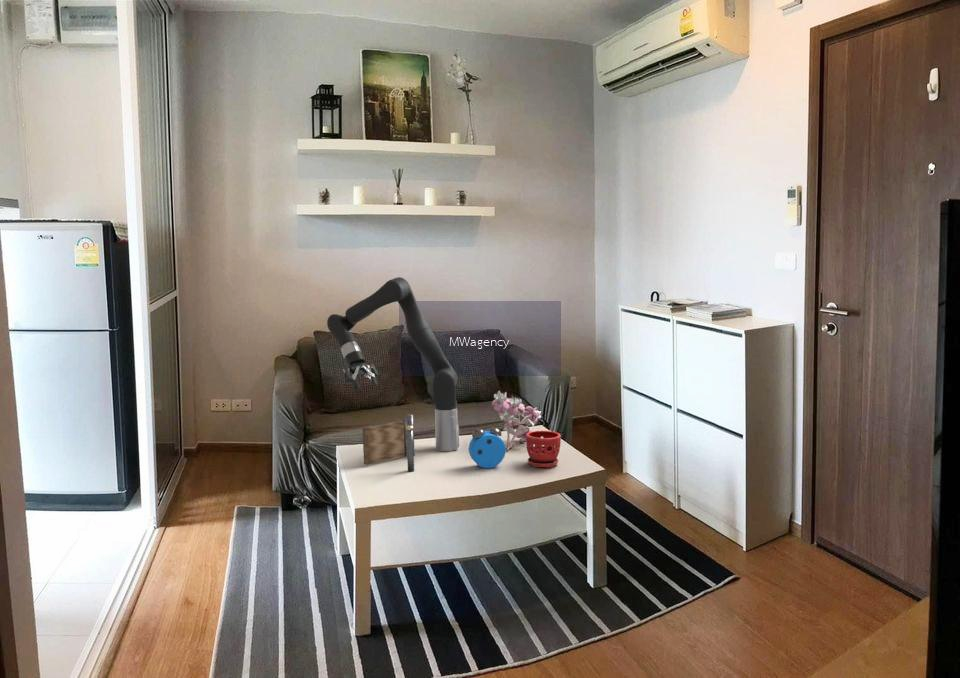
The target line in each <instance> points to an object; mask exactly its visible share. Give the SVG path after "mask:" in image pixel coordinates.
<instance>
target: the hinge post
mask: <svg viewBox="0 0 960 678" xmlns="http://www.w3.org/2000/svg"><path fill="white" fill-rule="evenodd" d="M408 425H412V426H413V448H414V449H415V428H414V427H415V426H414V425H415V424H414V414H412V413H411V414H410V413H409V414H407V415H406V426H408ZM414 456H416V455H415V452H414Z"/></svg>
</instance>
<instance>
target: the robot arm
mask: <svg viewBox="0 0 960 678" xmlns="http://www.w3.org/2000/svg"><path fill="white" fill-rule="evenodd" d="M415 297H416V296H415V294H414V292H413V289H412V287H411V285H410V283H409V281H407V280H406V279H405V278H404V277H400V276H399V277H394V278H391V279H389V280H387V281H386V282H385V283H384V284H383V285H382V286H380V288H379V289H377V290H376V291H375V292H374V293H372V294H370V295H369V296H368V297H366V298H363V300H360V301H359V302H357V303H354V304H353V305H352V306H350V307H349V308H347V309H346V310H345V313H344V314H345V315H340V314H336V313H333V314H330V315H329V316H328V318H327V320H326V321H327V322H326V325H327V328H328V331H329V332H330V333H331V335H332V336H333V338H334V339H335V340H336V341H337V343H338V346H339V348H340V351H341V354H342V357H343V359H344V361H345V364H346V366H344V368H343V369H342V374H343V376H344V379H345V382H347V383H348V382H349V383H351V385H352V387H353V389H354V390H355V391H358V390H359V389H360V385H359V383H358V380H357V379H356V378H359V377H365V378H368V379H369V380H370V382H371V385H372V386H373V388H375V389H376V388H377V387H378V385H379V383H378V380H377V378H378V377H379V372H378V370H377V368H376V367H375V365H374V363H371V364H370V365H369V364H367V363H366V359H365V357H364V355H363V352H362V350H361V348H360V346H359V345H358V343H357V340H356V338H355V336H354V334H353V333H352V332H351V330H352V329H353V328H354V327H355V326H356V325H357V323H359V322H362V321H363V320H365V319H366V318H368V317H369V316H371V315H372V314H373V313H374V312H375V311H377V310H379V309H380V308H382V307H384V306H386V305H387V306H388V305H390V304H392V303H398V305H399V307H400V308H401V310H402V312H403V314H404V315H403V316H404V318H405V326H406V332H407V333H408V335H409V337H410V340H411V342H412V343H413V345H414V347H415V348H416V350H417V351H418V352H419V353H420V355H421V356H422V357H423V358H424V359H425V360H426V362H427V363H428V364H429V365H430V367H431V370H432V372H433V374H434V376H433V379H432V395H433V396H432V397H433V403H434V419H435V420H434V421H435V423H434V425H435V426H434V427H435V428H434V429H435V431H434V432H435V449H436V450H437V451H439V450H440V451H439V452H453V451H452V450H456V451H458V449H459V447H460V427H459V426H460V425H459V424H458V401H457V399H456V398H457V397H456V395H457V393H456V392H457V391H456V386H457V384H458V380H459V379H458V375H457V372H456V370H455V369H454V368H453V367H452V365H451V364H450V362H449V360H448V359H447V357H446V356H445V354H444V352H443V350H442V348H441V346H440V344H439V342H438V340H437V337H436V335H435V334H434V331H433V330H432V328H431V326H430V324H429V322H428V321H427V319H426V317H425V315H424V314H423V313H424V312H423V311H422V309H421V308H420V306H419V304H418V302H417V300H416V298H415ZM350 373H351V374H352V375H351V374H350Z"/></svg>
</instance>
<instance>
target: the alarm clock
mask: <svg viewBox="0 0 960 678" xmlns="http://www.w3.org/2000/svg"><path fill="white" fill-rule="evenodd" d="M502 435H503V434H502V430H501V429H500V428H499V427H490V429H486V430H485V429H482V428H476V429H475V430H473V432H472V434H471V436H472V438H471V440H470V442H469V444H468V453H469V457H470V458H471V459H472V460H473V462H474V463H475V464H476V466H477V467H481V468H483V469H492V468H495V467H497V466H498V465H500V463H502V462H503V460H504V458H505V456H506V451H507V448H505V444H504V442H503V441H504V440H503V439H502V438H501V437H502Z"/></svg>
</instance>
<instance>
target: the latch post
mask: <svg viewBox="0 0 960 678" xmlns="http://www.w3.org/2000/svg"><path fill="white" fill-rule="evenodd" d="M406 434H407V456H406V457H407V461H406V462H407V472H409V473H412V472H415V457H414V453H415V447H414V448H413V426H412V425H408V426H407V425H406Z"/></svg>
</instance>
